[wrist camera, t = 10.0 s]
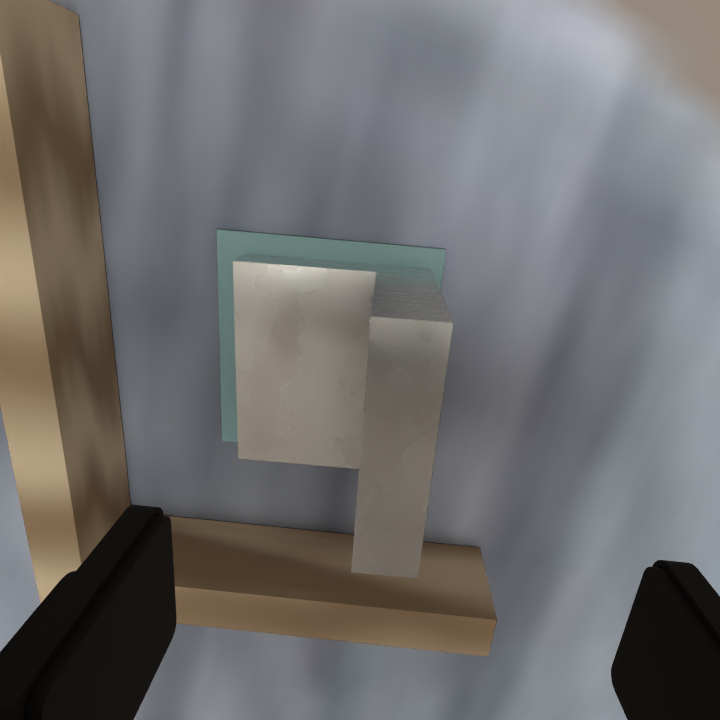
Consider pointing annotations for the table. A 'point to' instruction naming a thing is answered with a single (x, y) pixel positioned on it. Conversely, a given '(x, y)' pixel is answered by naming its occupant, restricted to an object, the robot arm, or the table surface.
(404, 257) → the teal square plate
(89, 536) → the wooden l-shaped piece
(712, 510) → the table surface
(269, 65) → the table surface
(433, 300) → the bracket
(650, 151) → the table surface
